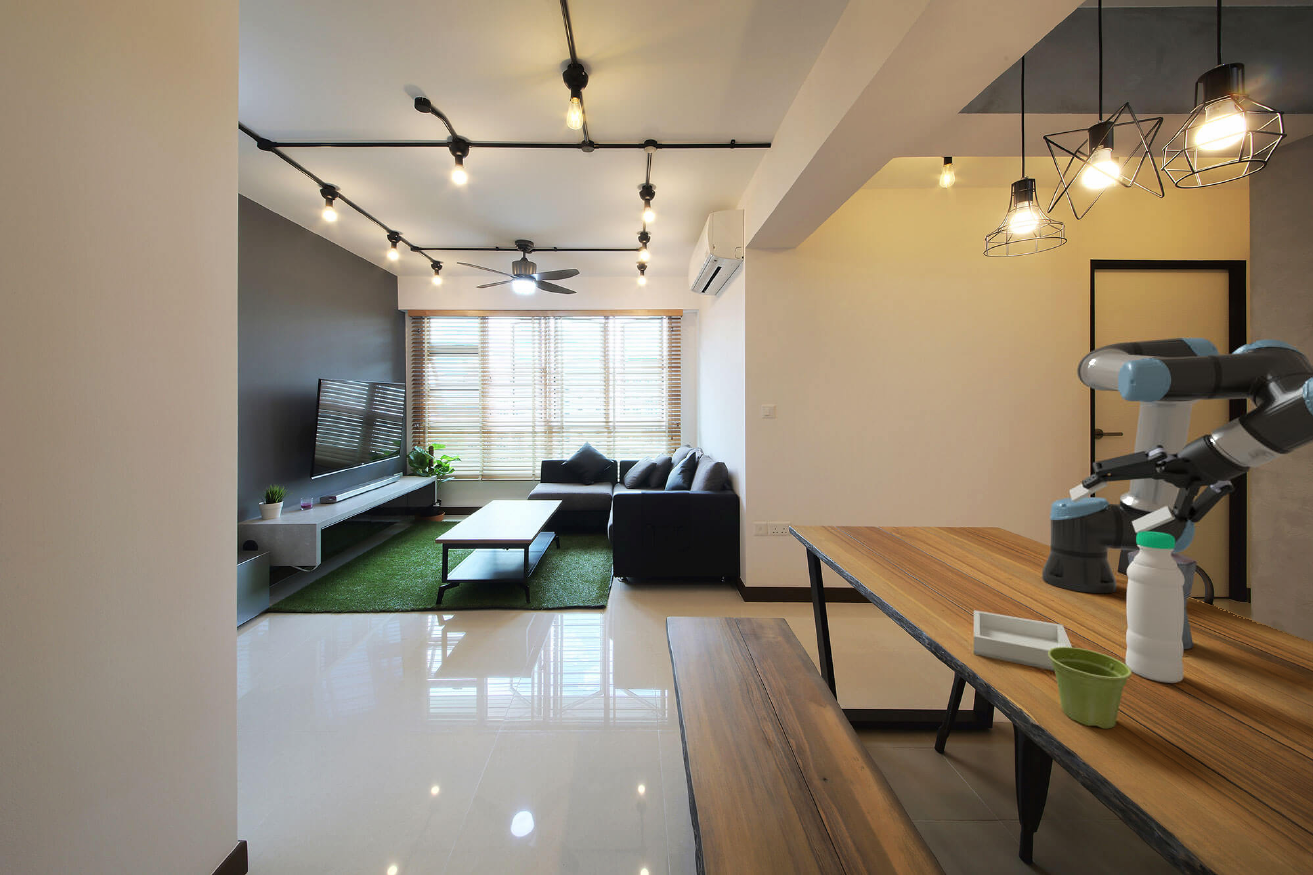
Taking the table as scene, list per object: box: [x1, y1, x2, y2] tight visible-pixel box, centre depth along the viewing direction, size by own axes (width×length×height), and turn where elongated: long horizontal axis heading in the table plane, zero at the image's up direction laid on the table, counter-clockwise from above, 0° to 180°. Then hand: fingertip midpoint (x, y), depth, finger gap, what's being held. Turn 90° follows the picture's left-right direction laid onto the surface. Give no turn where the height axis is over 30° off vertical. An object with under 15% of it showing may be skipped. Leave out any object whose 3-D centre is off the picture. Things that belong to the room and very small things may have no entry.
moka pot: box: [1127, 550, 1197, 650], centre depth 98 cm, size 10×15×20 cm, turn 137°
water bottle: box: [1125, 531, 1185, 684], centre depth 85 cm, size 7×7×25 cm
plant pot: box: [1048, 646, 1132, 729], centre depth 73 cm, size 9×9×9 cm
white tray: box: [973, 610, 1073, 672], centre depth 96 cm, size 15×15×4 cm
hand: (1103, 512), depth 95 cm, fingers open, 13 cm apart
